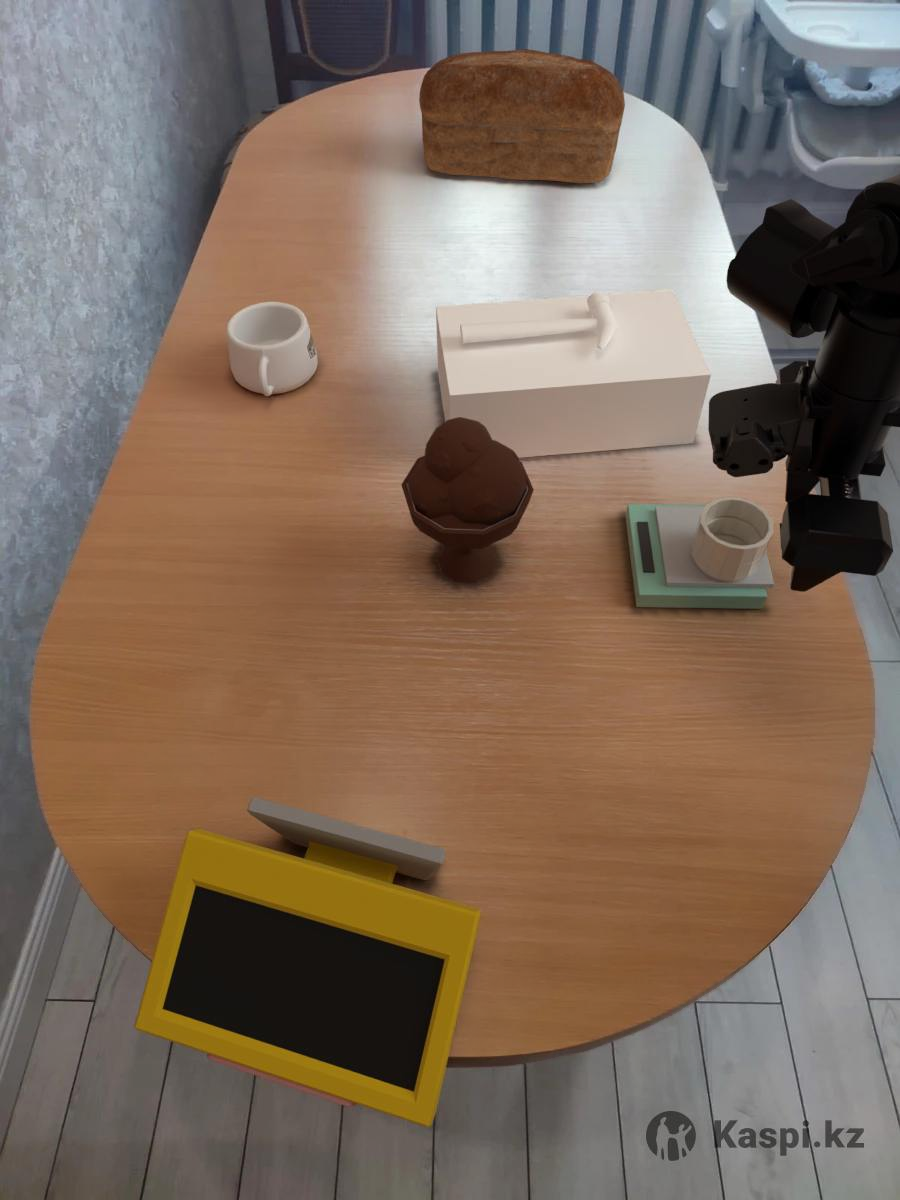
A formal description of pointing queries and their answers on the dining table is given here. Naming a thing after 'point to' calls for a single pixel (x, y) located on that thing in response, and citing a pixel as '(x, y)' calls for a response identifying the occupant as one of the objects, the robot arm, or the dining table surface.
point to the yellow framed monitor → (314, 962)
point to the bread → (521, 116)
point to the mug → (271, 348)
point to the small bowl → (731, 538)
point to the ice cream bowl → (466, 496)
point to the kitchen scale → (682, 563)
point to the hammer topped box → (573, 371)
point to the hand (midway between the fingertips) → (794, 543)
